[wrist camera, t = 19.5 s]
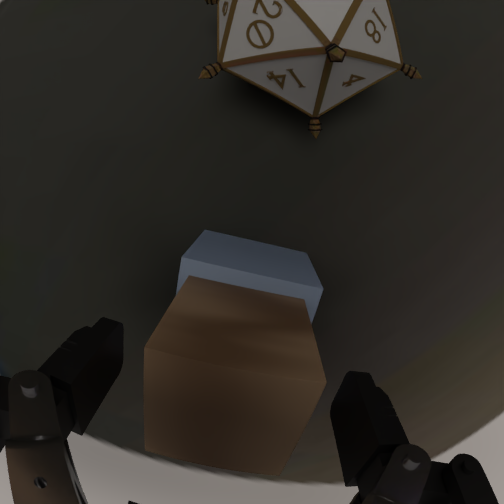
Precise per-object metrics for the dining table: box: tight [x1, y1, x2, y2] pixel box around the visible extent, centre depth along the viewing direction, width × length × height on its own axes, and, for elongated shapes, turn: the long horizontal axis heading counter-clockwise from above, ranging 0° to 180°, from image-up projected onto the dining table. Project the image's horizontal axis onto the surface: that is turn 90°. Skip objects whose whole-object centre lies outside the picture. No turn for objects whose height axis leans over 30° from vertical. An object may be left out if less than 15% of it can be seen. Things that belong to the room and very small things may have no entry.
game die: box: [198, 0, 422, 139], centre depth 10 cm, size 9×8×10 cm
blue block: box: [176, 230, 323, 324], centre depth 15 cm, size 6×6×5 cm
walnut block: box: [144, 275, 327, 476], centre depth 10 cm, size 4×4×5 cm
